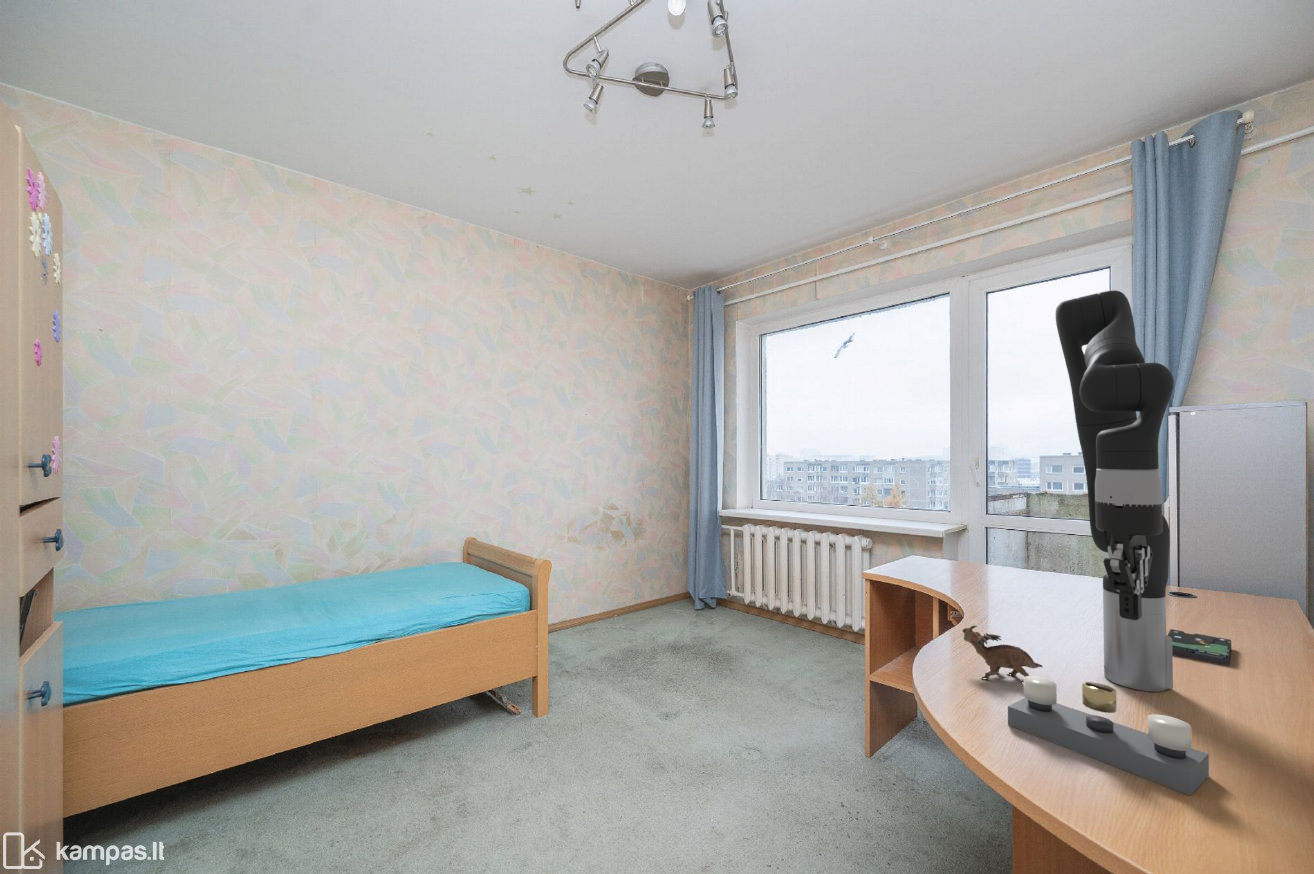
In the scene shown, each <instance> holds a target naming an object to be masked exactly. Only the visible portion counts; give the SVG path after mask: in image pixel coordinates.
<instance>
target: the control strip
mask: <svg viewBox="0 0 1314 874" xmlns="http://www.w3.org/2000/svg"><path fill="white" fill-rule="evenodd" d="M1007 725H1008V726H1009V725H1011V726H1010V727H1013V728H1015V727H1016V729H1018V730H1020V731H1023V732H1025V733H1028V734H1031V735H1033V736H1036V737H1038V738H1041V739H1042V740H1043V739H1044V740H1046V741H1048V742H1051V743H1054V744H1056V745H1059V746H1060V747H1063V748H1066V749H1068V750H1072V751H1074V752H1076V753H1078V754H1082V755H1084V756H1086V757H1087V756H1088V757H1090V758H1092V759H1095V760H1096V761H1097V760H1098V761H1100V762H1102V763H1105V764H1107V763H1108V765H1110V766H1113V767H1115V768H1117V769H1121V770H1123V771H1125V772H1127V773H1131V774H1134V775H1136V776H1139V777H1141V778H1144V779H1146V780H1149V781H1151V782H1154V783H1157V784H1160V785H1162V786H1165V787H1166V788H1170V789H1172V790H1175V791H1177V792H1179V793H1183V794H1185V795H1188V796H1191V795H1193V794H1194V793H1195V791H1196V790H1198V789H1199V787H1200V786H1201V785H1202V784H1203V783H1204V782H1205V781H1206V780H1207V779H1208V778H1207V777H1208V776H1209V777H1210V768H1209V767H1210V763H1209V761H1210V760H1209V759H1210V757H1209V753H1208V752H1207V753H1206V752H1204V751H1201V750H1199V749H1198V750H1197V749H1195V748H1192V749H1191V750H1190V751H1178V750H1172V749H1169V748H1165V747H1162V746H1160V745H1158V744H1156V743H1154V742H1152V741H1151V740H1150V739H1149V738H1148V733H1147V732H1144V731H1141V730H1137V729H1136V728H1132V727H1129V726H1126V725H1123V724H1120V723H1117V722H1115V721H1112V720H1111V719H1110V718H1107V717H1105V716H1100V715H1097V714H1090V713H1087V712H1084V711H1081V710H1078V709H1075V708H1073V707H1070V706H1066V705H1063V704H1060V703H1058V702H1057V703H1056V704H1055V705H1043V704H1038V703H1034V702H1032V701H1029V700H1027V699H1026V698H1025V697H1024V698H1021V699H1020V700H1017V701H1016V702H1014V703H1012V704H1011V703H1010V704H1009V705H1008V706H1007ZM1205 779H1206V780H1205Z"/></svg>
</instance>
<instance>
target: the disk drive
mask: <svg viewBox="0 0 1314 874" xmlns="http://www.w3.org/2000/svg"><path fill="white" fill-rule="evenodd" d="M1166 635H1167V636H1169V637H1171V638H1172V654H1173V656H1175V657H1176V656H1177V657H1182V658H1187V659H1191V660H1197V661H1201V662H1207V663H1211V664H1216V665H1222V666H1227V667H1229V666H1230V664H1231V653H1232V640H1231V639H1228V638H1222V637H1216V636H1212V635H1205V634H1201V633H1188V632H1187V633H1186V632H1184V631H1182V630H1178V629H1173V628H1172V629H1169V631H1168V633H1167V634H1166Z"/></svg>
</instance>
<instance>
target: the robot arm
mask: <svg viewBox="0 0 1314 874" xmlns="http://www.w3.org/2000/svg"><path fill="white" fill-rule="evenodd" d="M1130 304H1131V303H1130V301H1129V299H1128V298H1127V296H1126V295H1125V293H1123V292H1122V291H1120V290H1113V289H1112V290H1105V291H1101V292H1097V293H1093V294H1087V295H1083V296H1079V297H1075V298H1071V299H1068V300H1064V301H1061V302H1059V303H1058V304H1057V306H1056V308H1055V322H1056V323H1055V325H1056V328H1057V333H1058V338H1059V343H1060V346H1061V351H1062V354H1063V357H1064V362H1065V365H1066V370H1067V374H1068V379H1069V383H1070V389H1071V395H1072V402H1073V404H1072V405H1073V409H1074V410H1073V411H1074V418H1075V424H1076V429H1077V430H1076V431H1077V437H1078V440H1079V445H1080V449H1081V455H1082V458H1083V465H1084V471H1085V472H1084V473H1085V476H1086V485H1087V486H1086V487H1087V500H1088V515H1089V517H1088V518H1089V525H1090V526H1089V527H1090V534H1091V537H1092V540H1093V542H1094V545H1095V547H1097V548H1098V550H1099V551H1102V552H1104V553H1106V554H1107V555H1108V557H1104V559H1103V566H1104V568H1105V571H1106V573H1105V574H1104V575H1103V577H1102V604H1103V605H1102V606H1103V607H1102V608H1103V609H1102V610H1103V613H1102V614H1103V616H1102V619H1103V622H1102V623H1103V673H1104V677H1105V679H1106V680H1108V681H1110V682H1112V683H1114V684H1117V685H1119V686H1122V687H1125V688H1130V689H1133V690H1138V691H1145V692H1156V693H1157V692H1165V691H1166V690H1174V673H1173V672H1174V669H1173V667H1174V663H1173V662H1174V661H1173V656H1174V655H1173V654H1172V638H1171V637H1169V636H1167V635H1168V634H1167V617H1166V616H1167V607H1166V606H1167V605H1166V591H1167V590H1166V588H1167V583H1168V580H1169V559H1170V549H1171V548H1170V546H1171V533H1170V532H1171V531H1170V527H1169V526H1170V525H1169V523H1168V520H1167V519H1166V517H1165V516H1164V515H1163V497H1162V496H1163V491H1162V490H1163V489H1162V481H1161V476H1160V470H1159V469H1160V468H1159V467H1160V465H1159V438H1160V431H1161V426H1162V423H1163V419H1164V416H1165V413H1166V411H1167V408H1168V405H1169V402H1170V400H1171V397H1172V394H1173V391H1174V384H1175V381H1174V376H1173V374H1172V372H1171V371H1170V370H1169V369H1168V367H1166V366H1165V365H1164V364H1162V363H1159V362H1146V361H1145V360H1146V359H1145V358H1144V356H1143V354H1142V351H1141V349H1140V348H1139V346H1138V344H1137V341H1136V329H1135V322H1134V316H1133V312H1132V307H1131V305H1130ZM1084 346H1086V347H1085V351H1083V347H1084ZM1137 412H1139V414H1138V415H1137Z"/></svg>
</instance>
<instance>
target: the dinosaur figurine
mask: <svg viewBox="0 0 1314 874" xmlns="http://www.w3.org/2000/svg"><path fill="white" fill-rule="evenodd" d="M975 628H977V625H972V626H970V627H965V628H962V633H963V640H964V641H965V642H967V643H969V644H971V646H973V648H974V649H975V650H976V653H977V654H978V655H980V656H981V658H983V660H985V664H986V665H987V666H989V671H988V672H985V674H984V676H981V677H982V678H987V679H988V678H989V679H990V676H991V677H992V676H997V675H998V673H999V672H1000V670H1001V668H1003V669H1009V670H1010V669H1011V670H1012V671H1010V672H1008V673H1009V674H1011V675H1013V676H1017V674H1020V675H1022V676H1023V679H1021V680H1020V683H1021V682H1023V683H1024V677H1026V676H1030V674H1029V673H1028V672H1027V671H1026V669H1025V668H1024V667H1027V668H1030V669H1038V668H1043V664H1040V663H1039V662H1038V663H1037V662H1036V661H1034V660H1033V657H1031V655H1030V654H1028V653H1029V652H1027V651H1026V650H1024V649H1022V648H1021V647H1019V646H1015V645H1011V644H998V645H991V646H988V647H987V646H985V644H986V645H988V641H989V640H991V641H993V642H994V641H997V642H999V641H1002V639H1001V638H1002V636H1001V635H997V634H992V633H990V634H989V633H987V632H986V633H983V635H982V634H981V633H980V632H978V631H974V630H973V629H975ZM989 679H988V680H989Z"/></svg>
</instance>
